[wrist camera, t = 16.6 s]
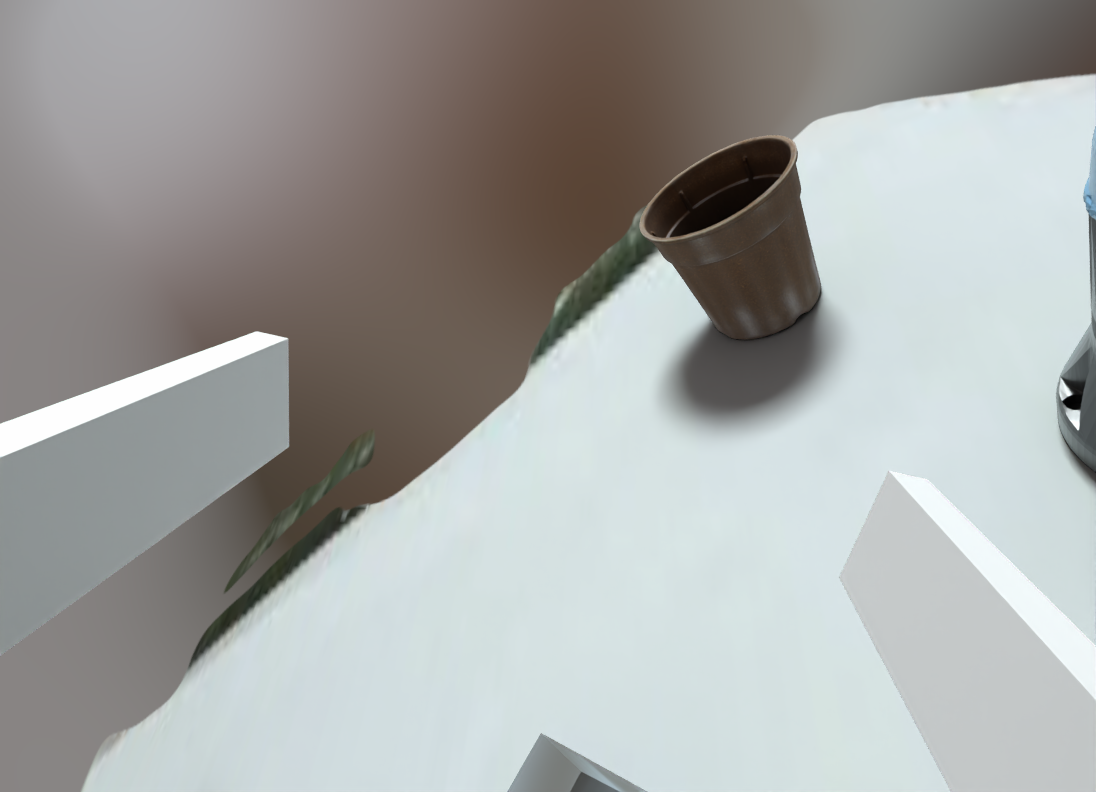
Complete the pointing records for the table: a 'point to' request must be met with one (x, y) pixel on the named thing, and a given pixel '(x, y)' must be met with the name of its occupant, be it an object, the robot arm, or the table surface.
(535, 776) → the book stand
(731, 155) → the plant pot
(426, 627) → the table surface
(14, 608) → the robot arm
